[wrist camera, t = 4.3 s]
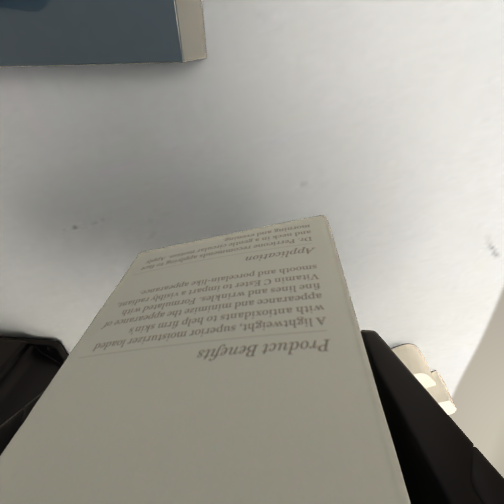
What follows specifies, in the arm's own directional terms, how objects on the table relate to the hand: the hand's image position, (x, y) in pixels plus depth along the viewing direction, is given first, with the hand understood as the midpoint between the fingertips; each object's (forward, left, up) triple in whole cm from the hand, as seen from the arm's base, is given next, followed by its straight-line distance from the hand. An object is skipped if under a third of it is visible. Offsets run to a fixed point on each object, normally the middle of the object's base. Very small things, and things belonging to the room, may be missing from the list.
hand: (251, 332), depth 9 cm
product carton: (0, 0, -2) cm, 2 cm away
